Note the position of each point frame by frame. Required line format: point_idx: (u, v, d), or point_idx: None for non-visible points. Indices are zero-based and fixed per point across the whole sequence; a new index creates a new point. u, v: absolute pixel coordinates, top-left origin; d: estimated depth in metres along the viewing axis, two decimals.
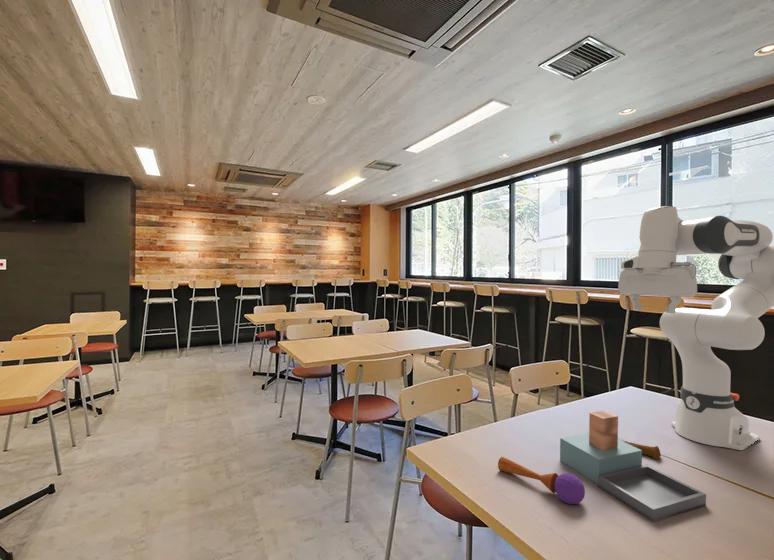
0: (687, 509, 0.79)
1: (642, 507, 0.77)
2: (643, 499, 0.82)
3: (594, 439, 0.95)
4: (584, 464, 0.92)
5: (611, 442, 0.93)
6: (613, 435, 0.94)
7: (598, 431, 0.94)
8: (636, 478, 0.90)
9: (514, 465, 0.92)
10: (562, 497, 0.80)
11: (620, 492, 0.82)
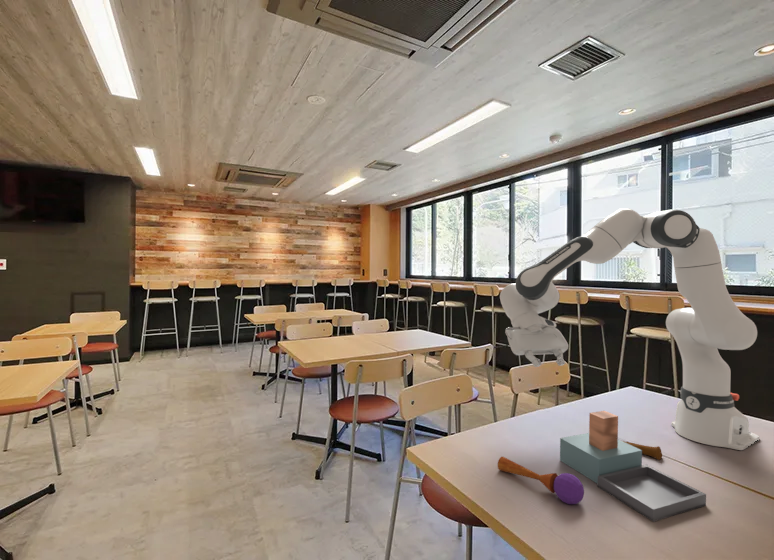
0: (687, 509, 0.79)
1: (642, 507, 0.77)
2: (643, 499, 0.82)
3: (594, 439, 0.95)
4: (584, 464, 0.92)
5: (611, 442, 0.93)
6: (613, 435, 0.94)
7: (598, 431, 0.94)
8: (636, 478, 0.90)
9: (513, 465, 0.92)
10: (561, 497, 0.80)
11: (620, 492, 0.82)
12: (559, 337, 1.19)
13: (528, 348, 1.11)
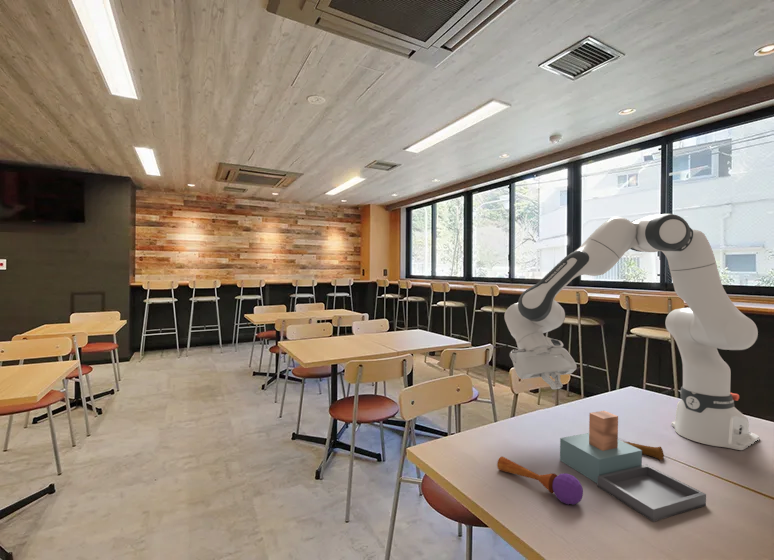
0: (687, 509, 0.79)
1: (642, 507, 0.77)
2: (643, 499, 0.82)
3: (594, 439, 0.95)
4: (584, 464, 0.92)
5: (611, 442, 0.93)
6: (613, 435, 0.94)
7: (598, 431, 0.94)
8: (636, 478, 0.90)
9: (513, 464, 0.92)
10: (560, 497, 0.80)
11: (620, 492, 0.82)
12: (566, 357, 1.16)
13: (533, 372, 1.09)
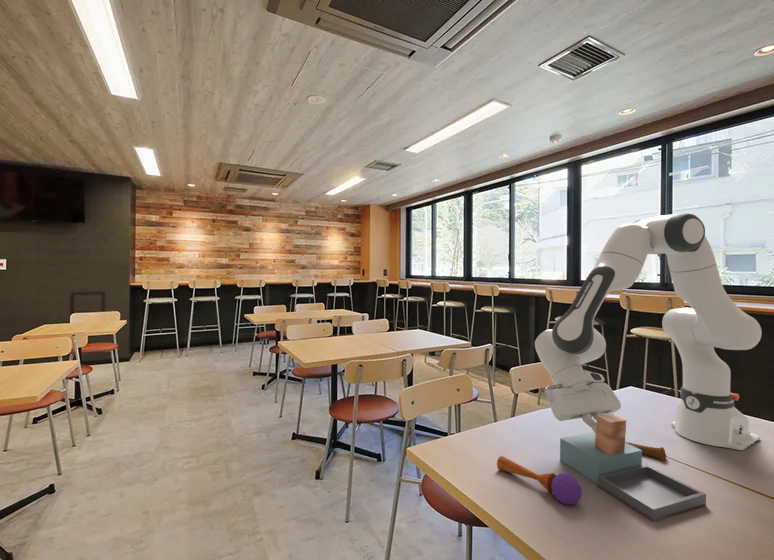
0: (687, 509, 0.79)
1: (642, 507, 0.77)
2: (643, 499, 0.82)
3: (600, 442, 0.93)
4: (584, 464, 0.92)
5: (617, 445, 0.91)
6: (621, 439, 0.91)
7: (605, 435, 0.91)
8: (636, 478, 0.90)
9: (512, 464, 0.92)
10: (558, 497, 0.80)
11: (620, 492, 0.82)
12: (608, 394, 1.02)
13: (574, 413, 0.95)
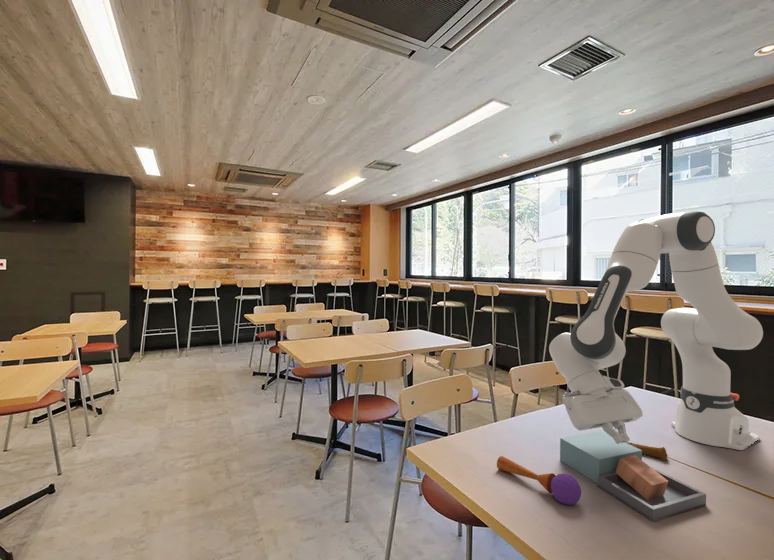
0: (687, 509, 0.79)
1: (642, 507, 0.77)
2: (643, 499, 0.82)
3: (624, 470, 0.86)
4: (584, 464, 0.92)
5: None
6: None
7: (633, 482, 0.84)
8: None
9: (512, 464, 0.92)
10: (557, 497, 0.80)
11: (620, 492, 0.82)
12: (629, 401, 0.97)
13: (594, 422, 0.90)
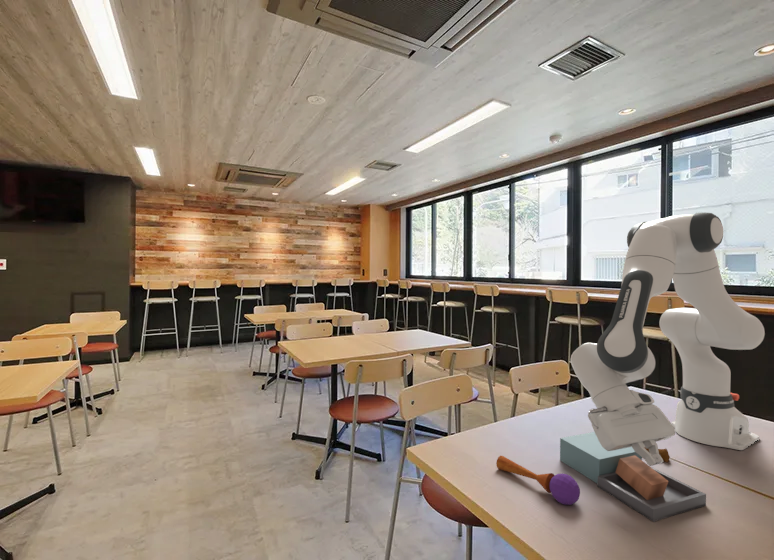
0: (687, 509, 0.79)
1: (642, 507, 0.77)
2: (643, 499, 0.82)
3: (624, 470, 0.86)
4: (584, 464, 0.92)
5: None
6: None
7: (633, 482, 0.84)
8: None
9: (511, 464, 0.92)
10: (556, 497, 0.80)
11: (620, 492, 0.82)
12: (660, 418, 0.89)
13: (625, 442, 0.82)
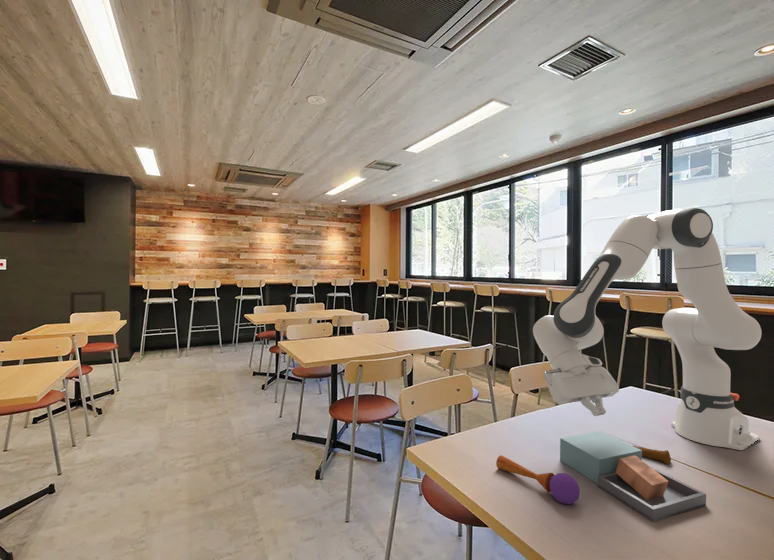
0: (687, 509, 0.79)
1: (642, 507, 0.77)
2: (643, 499, 0.82)
3: (624, 470, 0.86)
4: (584, 464, 0.92)
5: None
6: None
7: (633, 482, 0.84)
8: None
9: (511, 463, 0.92)
10: (556, 496, 0.81)
11: (620, 492, 0.82)
12: (606, 378, 1.03)
13: (573, 396, 0.96)
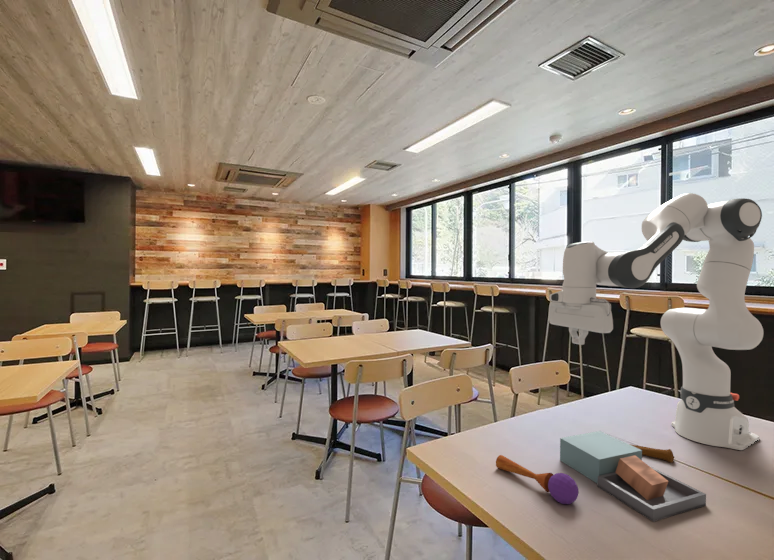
0: (687, 509, 0.79)
1: (642, 507, 0.77)
2: (643, 499, 0.82)
3: (624, 470, 0.86)
4: (584, 464, 0.92)
5: None
6: None
7: (633, 482, 0.84)
8: None
9: (511, 463, 0.93)
10: (554, 496, 0.81)
11: (620, 492, 0.82)
12: None
13: None
